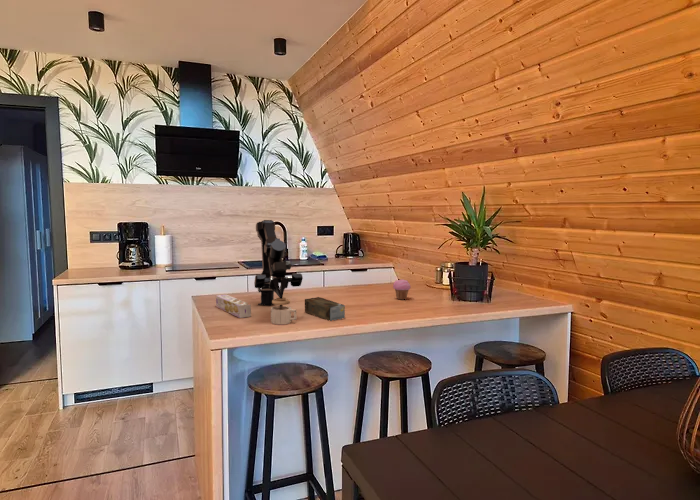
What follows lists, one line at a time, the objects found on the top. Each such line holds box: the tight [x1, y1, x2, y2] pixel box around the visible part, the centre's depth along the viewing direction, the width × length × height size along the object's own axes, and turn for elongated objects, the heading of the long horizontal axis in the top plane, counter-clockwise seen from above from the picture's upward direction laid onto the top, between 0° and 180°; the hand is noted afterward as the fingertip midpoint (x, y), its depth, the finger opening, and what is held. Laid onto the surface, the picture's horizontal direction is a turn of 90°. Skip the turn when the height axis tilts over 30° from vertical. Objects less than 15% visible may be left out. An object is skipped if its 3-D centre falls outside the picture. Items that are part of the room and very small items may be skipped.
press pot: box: [270, 305, 297, 326], centre depth 179 cm, size 10×8×6 cm
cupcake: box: [392, 278, 411, 300], centre depth 229 cm, size 9×9×10 cm
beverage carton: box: [304, 296, 346, 322], centre depth 191 cm, size 8×19×7 cm, turn 39°
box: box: [215, 294, 252, 319], centre depth 196 cm, size 27×5×6 cm, turn 36°
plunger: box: [272, 297, 291, 310], centre depth 178 cm, size 7×7×7 cm
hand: (281, 297), depth 178 cm, fingers closed, pressing on plunger
